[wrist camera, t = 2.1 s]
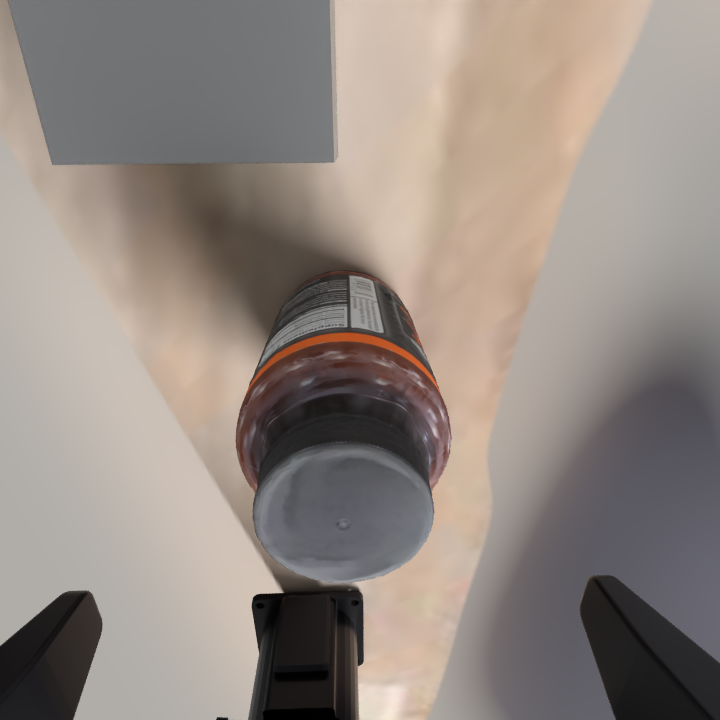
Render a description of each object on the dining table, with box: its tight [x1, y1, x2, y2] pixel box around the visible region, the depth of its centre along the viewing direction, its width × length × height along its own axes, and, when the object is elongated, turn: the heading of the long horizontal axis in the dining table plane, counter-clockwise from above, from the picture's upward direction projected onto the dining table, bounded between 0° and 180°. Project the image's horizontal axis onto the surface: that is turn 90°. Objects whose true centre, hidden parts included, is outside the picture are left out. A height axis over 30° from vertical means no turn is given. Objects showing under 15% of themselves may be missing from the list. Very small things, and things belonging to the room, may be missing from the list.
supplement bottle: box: [236, 271, 452, 583], centre depth 15 cm, size 6×6×11 cm
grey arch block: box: [8, 0, 338, 165], centre depth 13 cm, size 7×7×6 cm
